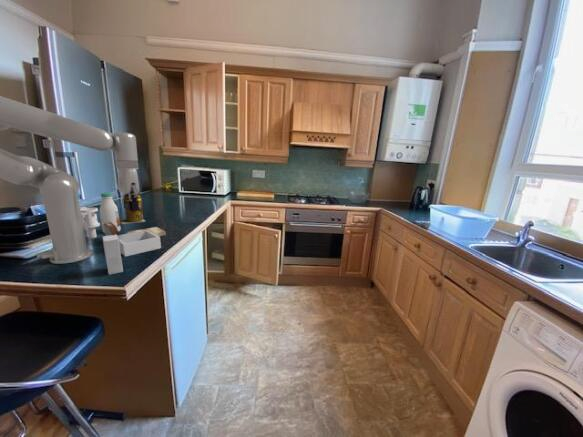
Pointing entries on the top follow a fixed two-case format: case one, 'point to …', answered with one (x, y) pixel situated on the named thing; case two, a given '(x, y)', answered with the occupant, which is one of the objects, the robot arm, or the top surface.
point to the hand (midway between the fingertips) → (131, 209)
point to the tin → (110, 229)
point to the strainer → (90, 220)
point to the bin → (138, 242)
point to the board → (152, 231)
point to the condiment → (133, 212)
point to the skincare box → (112, 254)
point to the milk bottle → (109, 211)
